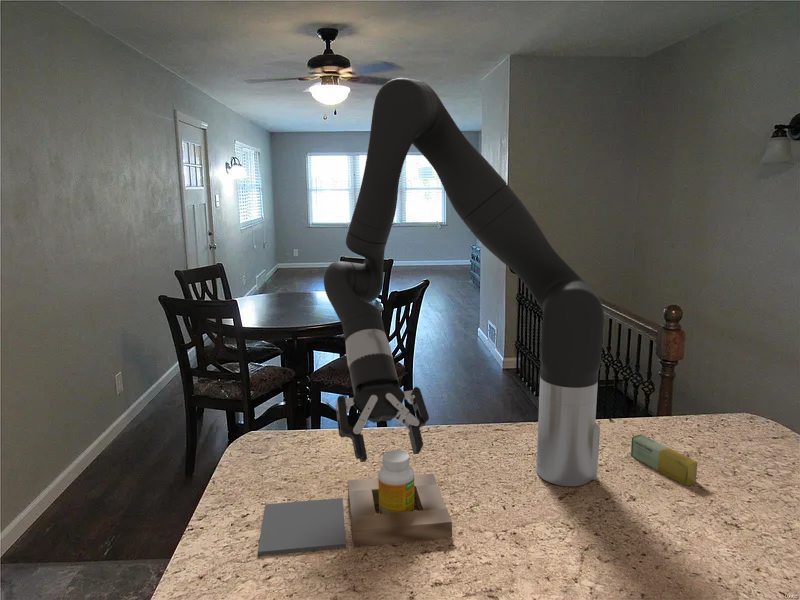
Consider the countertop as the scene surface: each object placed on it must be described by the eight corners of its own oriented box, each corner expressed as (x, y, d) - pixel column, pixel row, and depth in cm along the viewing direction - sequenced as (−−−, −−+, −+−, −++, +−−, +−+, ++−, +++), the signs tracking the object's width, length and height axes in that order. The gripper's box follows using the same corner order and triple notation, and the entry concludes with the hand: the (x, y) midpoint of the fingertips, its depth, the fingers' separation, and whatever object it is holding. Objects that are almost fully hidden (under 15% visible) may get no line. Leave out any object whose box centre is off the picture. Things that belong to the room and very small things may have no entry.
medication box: (629, 456, 108) (630, 436, 107) (640, 453, 109) (641, 433, 108) (686, 487, 97) (688, 465, 97) (697, 483, 99) (699, 461, 98)
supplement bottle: (411, 526, 87) (410, 465, 85) (375, 522, 88) (374, 462, 86) (417, 506, 92) (417, 449, 90) (383, 503, 93) (382, 446, 91)
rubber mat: (342, 501, 94) (342, 497, 94) (346, 547, 82) (346, 543, 82) (265, 507, 92) (265, 504, 92) (257, 555, 81) (257, 551, 80)
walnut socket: (433, 487, 98) (433, 473, 97) (452, 537, 84) (452, 521, 84) (348, 494, 96) (347, 480, 95) (353, 546, 82) (353, 530, 82)
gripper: (331, 356, 93) (349, 455, 85) (416, 347, 98) (441, 441, 89) (326, 377, 100) (342, 471, 91) (406, 368, 104) (428, 458, 95)
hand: (391, 456), depth 90 cm, fingers open, 8 cm apart
